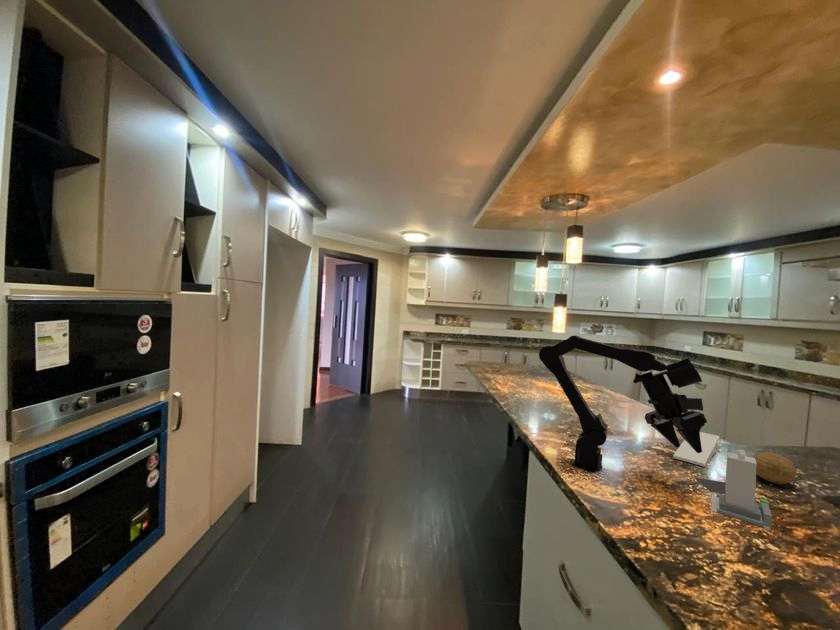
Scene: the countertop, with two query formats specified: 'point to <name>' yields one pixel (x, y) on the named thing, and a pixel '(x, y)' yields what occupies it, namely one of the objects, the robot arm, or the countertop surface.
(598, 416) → the robot arm
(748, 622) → the countertop surface
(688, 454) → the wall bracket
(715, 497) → the port
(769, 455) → the potato
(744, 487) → the plug
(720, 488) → the pad
